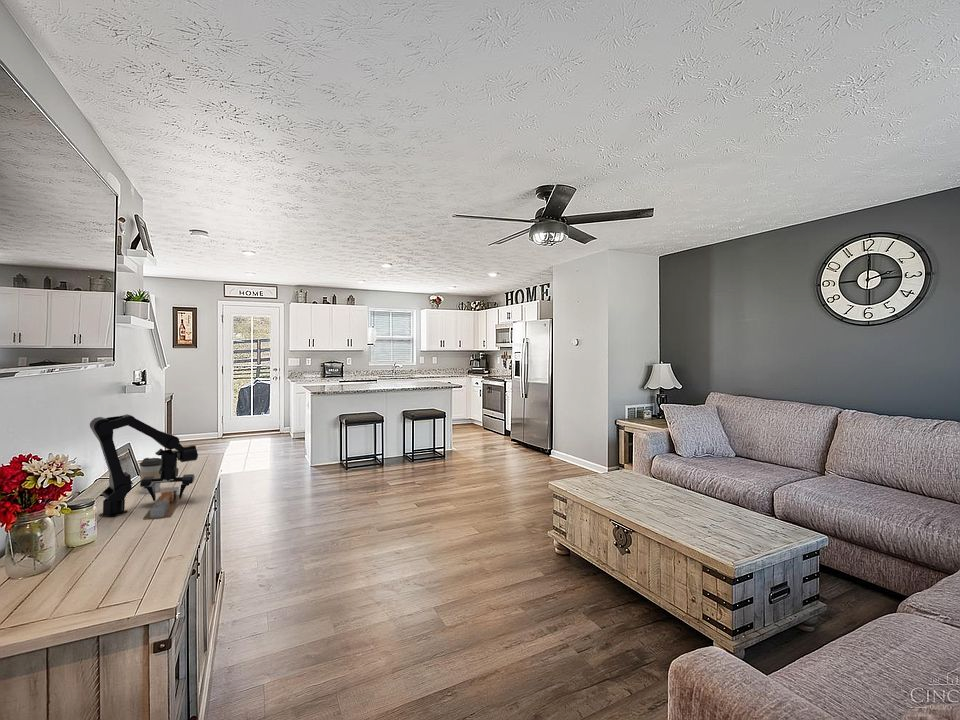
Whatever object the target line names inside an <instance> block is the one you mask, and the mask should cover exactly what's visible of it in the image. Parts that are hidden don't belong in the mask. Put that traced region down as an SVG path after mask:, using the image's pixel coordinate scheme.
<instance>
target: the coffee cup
mask: <svg viewBox="0 0 960 720" xmlns="http://www.w3.org/2000/svg"><path fill="white" fill-rule="evenodd" d="M160 467H161V457H160V458H159V457H145V458H143V459H142V460H141V462H140V463H139V468H140V469H139V477H140V482H141V480H142V479H143V478H144V477H150V476H154V477H155V479H156V478H160V474H159V470H160ZM160 488H161V483H155V493H158V492H159V491H160ZM140 489H141V490H140V492H141V493H142V494H150V493H149V491H148V490H147V489H146V488H144V487H141V486H140Z"/></svg>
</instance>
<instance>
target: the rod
mask: <svg viewBox="0 0 960 720" xmlns="http://www.w3.org/2000/svg"><path fill="white" fill-rule="evenodd" d="M160 496H161V501H167V500H170V502H172V501H173V500H174V490H165V491H163V490H162V491H161V493H160Z"/></svg>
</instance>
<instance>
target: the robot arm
mask: <svg viewBox="0 0 960 720" xmlns="http://www.w3.org/2000/svg"><path fill="white" fill-rule="evenodd" d="M127 426H128V427H130V428H132V429H135V430H136V431H138V432H140V433H142V434H144V435H145V436H147V437H150V438H151V439H152V440H154V442H155V443H157V444H159V445H160V446H161V447H163V448H165V449H162V448H159V449H158V450H157V451H156V452H155V455H157V456H161V457H160V459H161V467H160V470H159V474H160V478H156V479H155V477H154V476H150V477H144V478H143V479H142V480H141V481H140V482H139V487H140V488H141V487H144V488H146V489H147V490H148V491H149V493H148V494H150V496H151V499H152V500H153V502H156V500H157V499H156V495H157V494H156V492H155V483H160V484H162V483H163V484H164V483H165V484H166V483H177V482H178V483H180V482H181V484H180V487H179V499H181V497H182V494H184V492H185V489H186V487H188V486H190V484H191V485H192V484H194V481H195V475H194V474H193V473H191V474H183V475H182V476H179V468H178V465H177V464H178V461H179V462H180V463H184V462H185V463H186V462H193V461H197V460H198V458H199V457H198V456H199V453H198V450H197V446H196V445H194V444H193V445H188V446H186V445H185V446H182V444H181V443H180V442H181V441H180V438H179V437H178V436H176V435H173V434H171V433H168V432H165V431H161V430H159V429H156V428H154V427H153V426H151V425H149V424H147V423H145V422H143V421H141V420H139V419H137V418H136V417H135V416H133V415H131V414H124V415H118V416H109V417H103V416H98V417H95V418H93V419H92V420H91V421H90V422H89V428H90V429H91V432H93V434H94V436H95V437H96V439H97V440H98V442H99V445H100V448H101V450H102V454H103V457H104V461H105V463H106V467H107V470H108V472H109V476H108V477H109V478H108V485H109V486H108V487H106V488H105V490H103V491H102V492H101V493H102V496H103V498H105V499H103V503H102V512H101V513H99V515H98V516H100V517H109V518H114V517H118V516H120V515H122V514H125V513H127V512H128V509H125V502H126V500H125V499H126V498H127V497H126V496H127V495H128V494H129V493H130V491H131V490H132V488H133V484H134V483H133V482H132V479H131V478H132V476H131V474H130V473H128V472H127V471H123V467H122V465H121V462H120V458H119V455H118V452H117V449H116V446H115V443H114V442H115V441H114V430H118V429H120V428H124V427H127ZM182 498H183V497H182ZM181 500H182V499H181Z"/></svg>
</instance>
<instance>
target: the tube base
mask: <svg viewBox="0 0 960 720" xmlns="http://www.w3.org/2000/svg"><path fill="white" fill-rule="evenodd" d="M165 490H174V500H173V501H172V502H170V500H167V501H161V495H159V497H158V498H157V499H156V500H155V501H154V504H153V505H152V506H151V507H150V509H149V510H148V511H147V513H146V514H145V515H144V517H143V520H151V519H152V520H153V519H164V518H166V517H167V518H171V517H172V515H173V514H174V512H175V511H176V509H177V507H178V506H179V504H180V502H181V500H182V499H183V497H184V496H185V495H184V493H183V494H182V497H181V499H179V494H180V486H171V487H170V486H169V487H164V488H163V490H162V491H165Z"/></svg>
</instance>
